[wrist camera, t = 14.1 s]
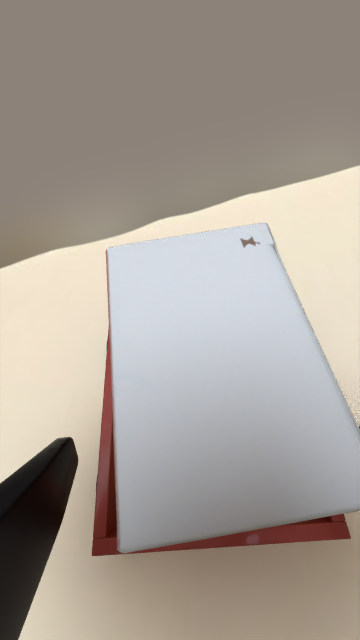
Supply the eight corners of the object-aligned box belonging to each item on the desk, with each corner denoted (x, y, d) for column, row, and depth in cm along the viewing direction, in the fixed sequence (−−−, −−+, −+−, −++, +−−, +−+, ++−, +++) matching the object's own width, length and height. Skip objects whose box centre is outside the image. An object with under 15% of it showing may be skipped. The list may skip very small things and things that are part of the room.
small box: (152, 350, 17) (101, 240, 8) (228, 336, 17) (267, 214, 8) (167, 482, 14) (106, 567, 4) (264, 464, 14) (410, 509, 4)
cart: (321, 511, 14) (370, 537, 10) (106, 526, 15) (72, 557, 11) (257, 273, 22) (271, 236, 18) (120, 285, 23) (103, 251, 19)
